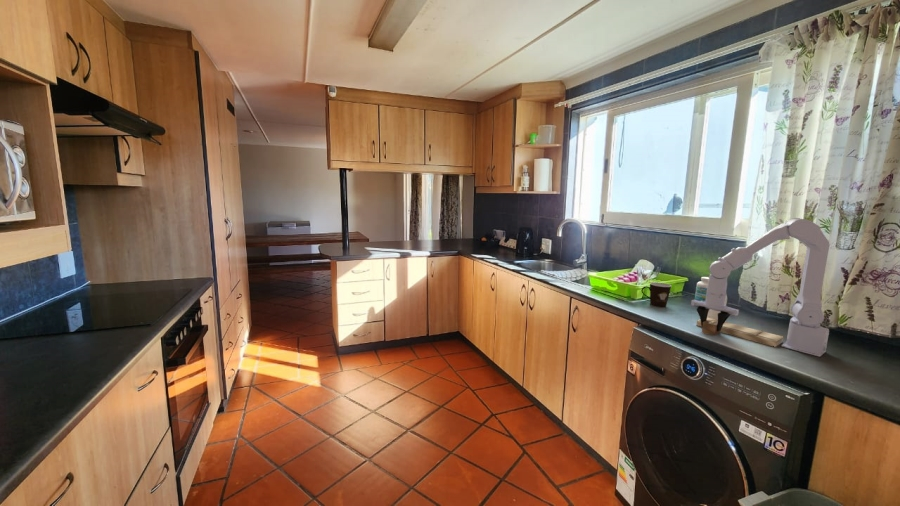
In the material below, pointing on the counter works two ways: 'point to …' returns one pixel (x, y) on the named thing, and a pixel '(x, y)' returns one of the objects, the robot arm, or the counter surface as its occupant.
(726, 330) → the maple board
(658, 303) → the coffee mug
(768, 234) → the robot arm
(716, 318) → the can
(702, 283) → the pill bottle
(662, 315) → the counter surface
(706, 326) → the brown wooden cube
